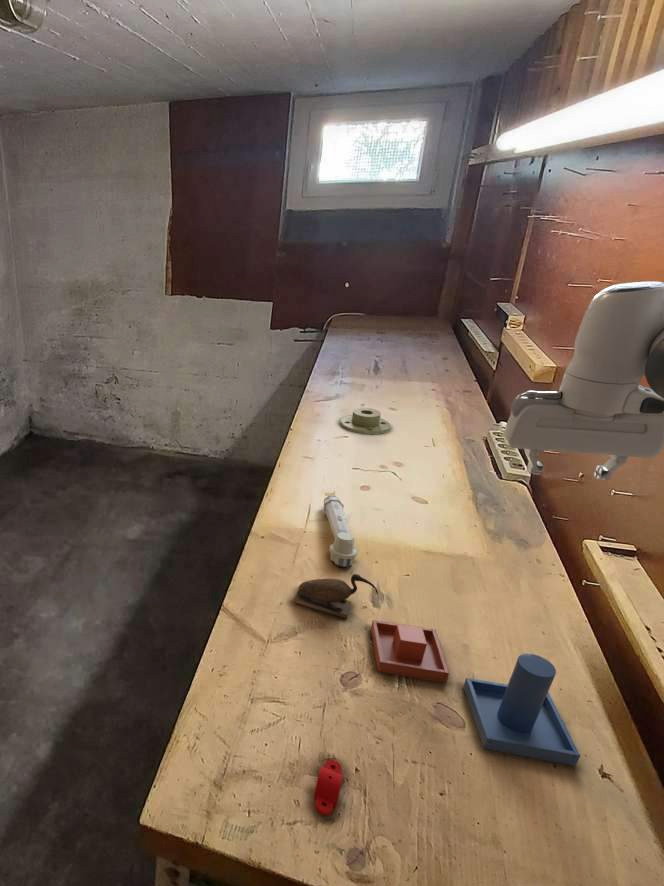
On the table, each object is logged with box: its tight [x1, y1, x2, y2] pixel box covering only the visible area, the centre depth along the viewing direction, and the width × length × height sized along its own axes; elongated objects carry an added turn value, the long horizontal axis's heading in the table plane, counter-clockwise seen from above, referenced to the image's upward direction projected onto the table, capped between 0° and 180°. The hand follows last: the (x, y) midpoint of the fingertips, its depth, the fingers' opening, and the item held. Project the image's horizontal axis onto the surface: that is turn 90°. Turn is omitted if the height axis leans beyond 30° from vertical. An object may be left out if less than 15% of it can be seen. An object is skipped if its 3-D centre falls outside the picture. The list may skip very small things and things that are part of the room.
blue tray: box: [462, 677, 581, 767], centre depth 82 cm, size 11×11×2 cm
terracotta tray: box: [370, 619, 450, 684], centre depth 95 cm, size 10×10×2 cm
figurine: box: [293, 573, 379, 619], centre depth 105 cm, size 14×4×9 cm, turn 60°
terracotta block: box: [393, 623, 427, 662], centre depth 94 cm, size 4×4×4 cm
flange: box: [340, 407, 391, 435], centre depth 185 cm, size 5×15×15 cm
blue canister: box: [497, 653, 557, 733], centre depth 80 cm, size 4×4×11 cm
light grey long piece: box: [323, 495, 358, 567], centre depth 127 cm, size 5×7×25 cm
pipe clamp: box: [313, 759, 344, 817], centre depth 74 cm, size 8×3×2 cm, turn 151°
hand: (566, 475), depth 90 cm, fingers open, 8 cm apart
